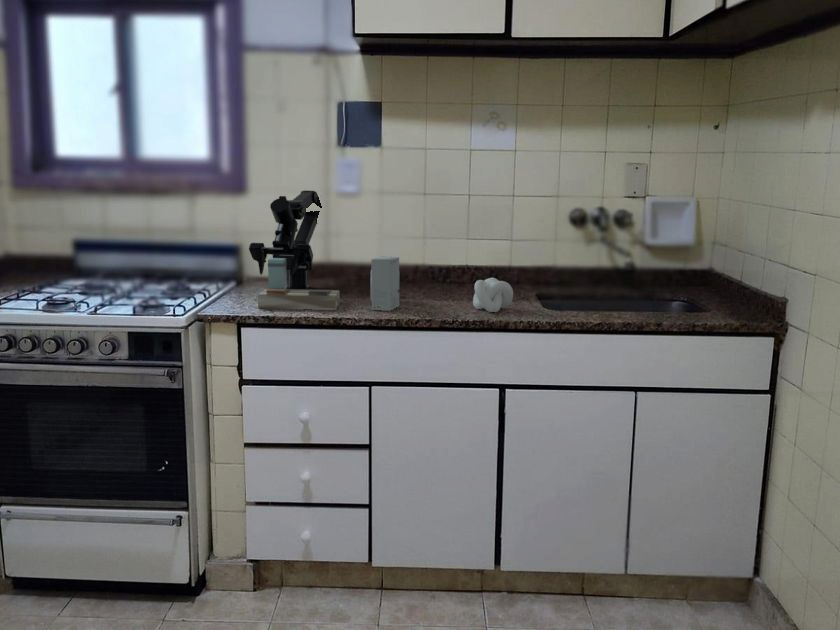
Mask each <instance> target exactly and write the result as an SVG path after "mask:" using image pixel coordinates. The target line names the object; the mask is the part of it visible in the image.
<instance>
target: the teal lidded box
mask: <svg viewBox="0 0 840 630" xmlns="http://www.w3.org/2000/svg"><path fill="white" fill-rule="evenodd" d="M286 265H287V262H286V258H273V257H271V258H268V259H267V270H268V271H267V273H268V289H287V287H288V281H287V278H288V277H287V276H288V274H287V270H286Z"/></svg>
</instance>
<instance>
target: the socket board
mask: <svg viewBox="0 0 840 630" xmlns="http://www.w3.org/2000/svg"><path fill="white" fill-rule="evenodd" d="M340 294H341V293H340V290H339V289H269V288H264V289H263V290H262V291H261V292H259V293H258V294H257V309H258V308H259V309H261V308H262V309H264V310H265V309H266V310H303V309H312V310H311V311H314V310H315V311H316V310H317V311H336V309H338V307H339V306H340V303H341V300H340V299H341V298H340V297H341V295H340Z"/></svg>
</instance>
